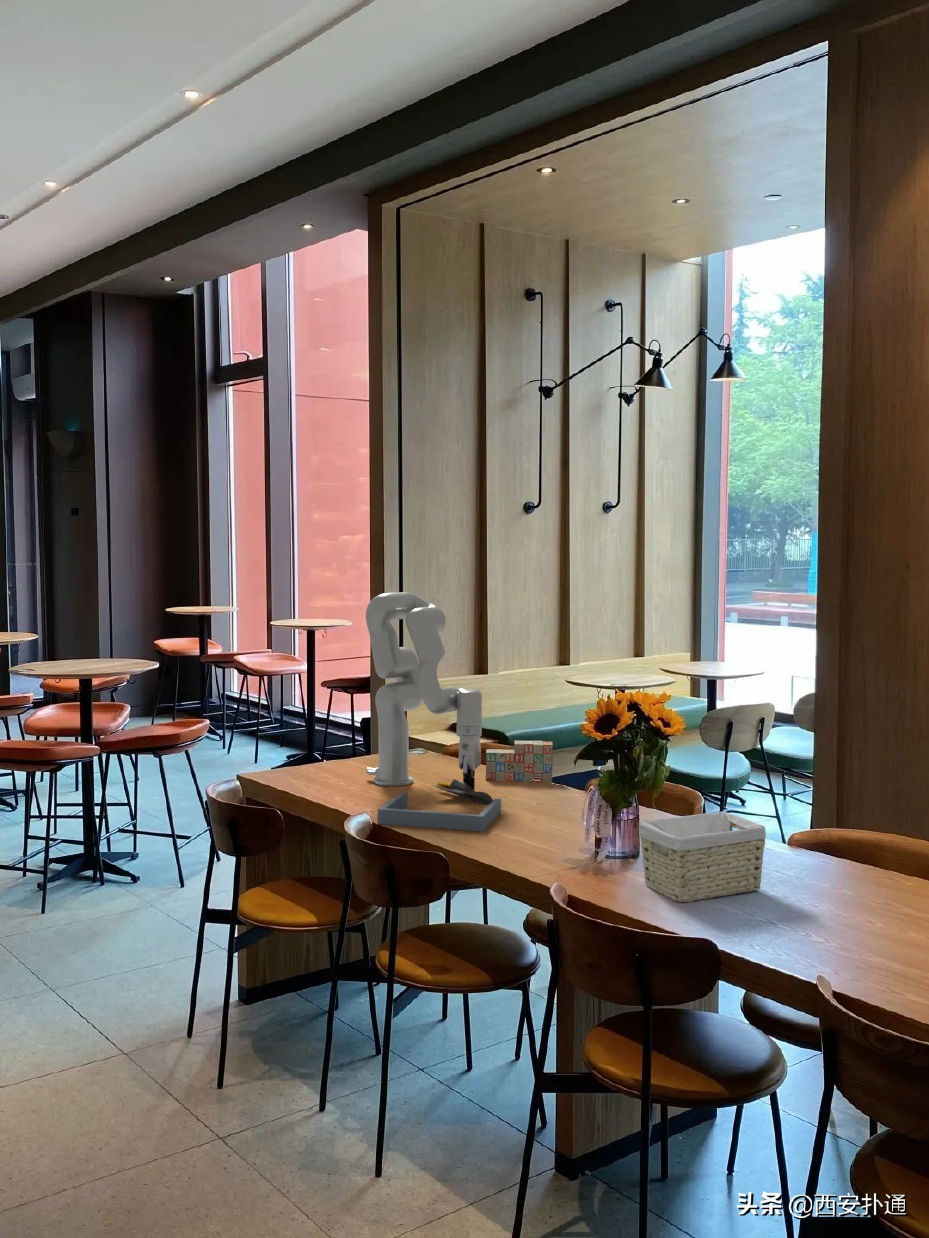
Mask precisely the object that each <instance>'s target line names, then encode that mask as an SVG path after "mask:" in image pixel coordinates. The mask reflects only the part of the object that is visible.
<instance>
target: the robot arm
mask: <svg viewBox="0 0 929 1238" xmlns="http://www.w3.org/2000/svg"><path fill="white" fill-rule="evenodd" d="M403 619H404V620H405V624H406V625H405V626H406V628H407V631H408V634H409V636H410V640H411V642H412V644H413V647H414V650H415V651H414V650H412V649H411V648H409V647H406V646H405V647H404V646H400V645H399V641H398V640H399V639H398V635H397V632H396V630H395V627H394V625H392V623H391V621H393V620H403ZM446 620H447V619H446V615H445V614H444V612H443V610H442V609H440V608H439V607H438V606H436V605H435V604H433V603H431V602H429V601H428V600H426V599H424V598H423V597H421V596H419V595H417V594H415V593H412V592H407V591H402V592H401V591H400V592H385V593H381V594H378V595H376V596H375V597H373V598H372V599H371V600H370V601H369V603H368V605H367V607H366V609H365V621H366V627H367V630H368V634H369V640H370V646H371V652H372V658H373V663H374V671H375V673H376V674H377V676H378V677H379V678H381V679H385V680H389V679H396V681H395V682H390V683H386V684H384V685H382V686H381V687H379V689H378V690H377V691H376V694H375V698H374V700H375V701H374V702H375V708H376V712H377V723H378V724H377V725H378V730H377V731H378V733H377V734H378V767H375V768H373V767H367V768H366V772H365V773H366V775H367V776H371V775H373V776H375V777H374V778H373V783H374V784H376V785H379V786H385V787H386V786H388V787H397V786H398V787H399V786H408V785H411V784H413V783H414V778H413V777H412V775H411V776H410V775H409V748H410V747H409V742H410V741H409V735H410V734H409V722H408V719H407V715H406V713H405V712H407V711H412V710H416V709H417V708H420V706H421V705H422V703H424V705H425V708H427V710H428V711H429V712H430V713H432V714H434V715H442V714H446V713H450V712H451V713H452V712H456V736H457V737H459V740H458V741H459V743H458V768H459V770H462V782H463V783H466V784H468V785H469V786H470V787H471V788H472V789H473V790H474V791H476V790H475V783H476V782H475V779H476V778H475V777H476V776H475V774H476V769H478V768H479V767H480V766H481V765H482V753H481V752H482V751H481V737H482V733H483V731H482V719H483V718H482V717H483V716H482V715H483V711H482V709H483V707H482V706H483V705H482V704H483V703H482V702H483V695H482V692H481V691H480V690H479V689H471V688H469V689H466V688H462V687H458V686H448V687H447V686H446V687H441V686H440V682H439V679H438V673H437V670H438V666H439V664H440V662H441V660H442V659H443V657H444V656H445V655H446V650H445V647H444V645H443V641H442V640H441V637H440V636H441V635H440V634H439V633H441V632H442V631H443V630H444V628H445V627H446V624H447V621H446Z"/></svg>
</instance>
